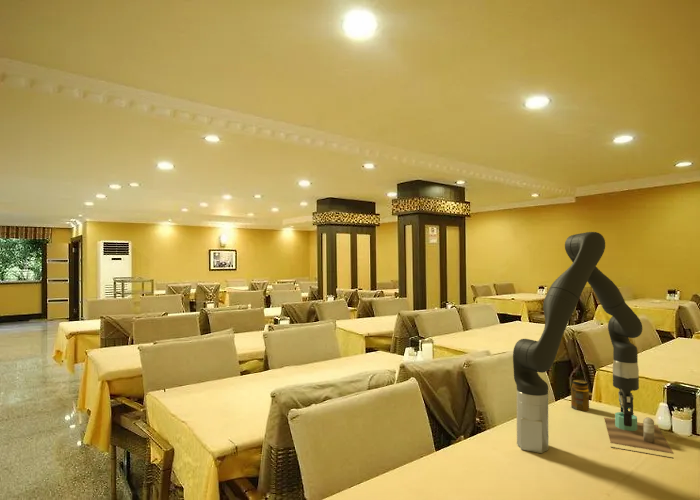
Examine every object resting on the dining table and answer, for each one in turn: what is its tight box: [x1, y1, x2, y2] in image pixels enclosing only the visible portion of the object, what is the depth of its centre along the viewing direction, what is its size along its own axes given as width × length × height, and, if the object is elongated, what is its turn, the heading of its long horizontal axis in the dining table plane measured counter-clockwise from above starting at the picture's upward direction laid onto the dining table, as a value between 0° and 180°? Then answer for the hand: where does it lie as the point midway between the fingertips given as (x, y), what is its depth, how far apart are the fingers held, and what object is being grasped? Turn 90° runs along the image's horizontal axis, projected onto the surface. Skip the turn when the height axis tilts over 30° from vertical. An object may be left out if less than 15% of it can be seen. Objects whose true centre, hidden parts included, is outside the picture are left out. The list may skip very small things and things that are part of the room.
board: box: [603, 417, 674, 460], centre depth 140 cm, size 24×16×9 cm, turn 153°
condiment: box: [570, 379, 590, 412], centre depth 163 cm, size 7×8×12 cm
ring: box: [614, 411, 638, 431], centre depth 146 cm, size 6×6×4 cm
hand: (626, 421), depth 146 cm, fingers open, 8 cm apart
